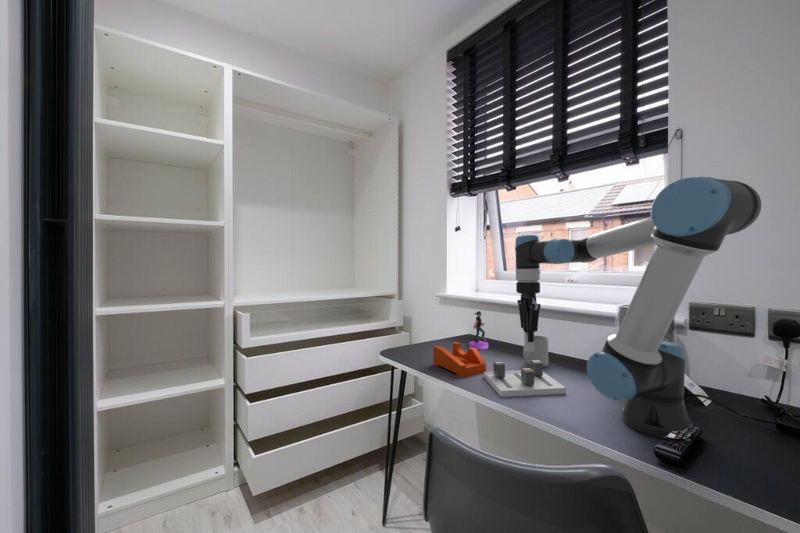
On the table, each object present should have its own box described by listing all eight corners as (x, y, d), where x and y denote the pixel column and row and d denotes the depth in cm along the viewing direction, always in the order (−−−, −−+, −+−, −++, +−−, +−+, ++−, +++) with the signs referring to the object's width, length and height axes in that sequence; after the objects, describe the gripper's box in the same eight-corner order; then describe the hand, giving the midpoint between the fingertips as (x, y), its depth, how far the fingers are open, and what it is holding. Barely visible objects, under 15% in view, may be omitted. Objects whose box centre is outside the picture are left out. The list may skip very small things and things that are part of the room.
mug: (536, 359, 150) (536, 334, 149) (552, 364, 142) (552, 338, 142) (516, 363, 144) (516, 338, 144) (532, 369, 137) (532, 342, 136)
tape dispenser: (433, 365, 145) (433, 346, 145) (456, 360, 151) (456, 342, 151) (461, 378, 129) (460, 357, 129) (485, 372, 135) (485, 351, 135)
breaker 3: (542, 375, 123) (542, 362, 123) (534, 375, 123) (534, 362, 123) (538, 372, 127) (538, 359, 127) (530, 372, 127) (530, 359, 127)
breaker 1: (505, 377, 122) (504, 364, 122) (496, 377, 122) (496, 364, 122) (501, 373, 126) (501, 360, 126) (493, 374, 126) (493, 361, 126)
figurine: (489, 349, 166) (489, 312, 165) (470, 349, 167) (469, 312, 166) (486, 344, 175) (486, 309, 175) (468, 344, 176) (468, 309, 176)
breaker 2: (534, 384, 115) (534, 370, 115) (525, 385, 115) (525, 371, 115) (529, 380, 118) (529, 367, 118) (521, 381, 118) (521, 367, 118)
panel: (565, 393, 113) (565, 387, 113) (500, 396, 112) (500, 390, 111) (539, 374, 131) (539, 369, 131) (483, 377, 129) (483, 371, 129)
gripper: (548, 282, 108) (549, 355, 109) (530, 279, 122) (531, 345, 122) (525, 282, 108) (526, 356, 109) (509, 280, 121) (511, 346, 122)
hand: (529, 350), depth 115 cm, fingers closed
